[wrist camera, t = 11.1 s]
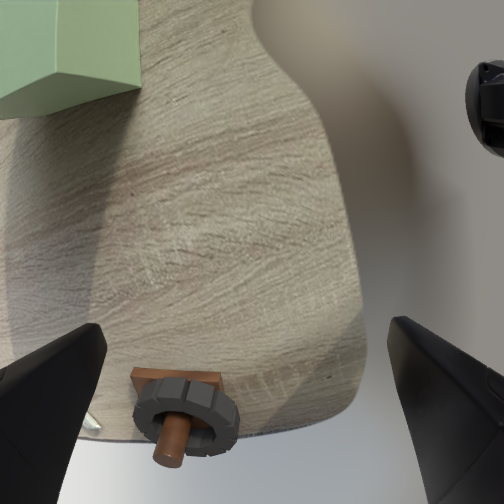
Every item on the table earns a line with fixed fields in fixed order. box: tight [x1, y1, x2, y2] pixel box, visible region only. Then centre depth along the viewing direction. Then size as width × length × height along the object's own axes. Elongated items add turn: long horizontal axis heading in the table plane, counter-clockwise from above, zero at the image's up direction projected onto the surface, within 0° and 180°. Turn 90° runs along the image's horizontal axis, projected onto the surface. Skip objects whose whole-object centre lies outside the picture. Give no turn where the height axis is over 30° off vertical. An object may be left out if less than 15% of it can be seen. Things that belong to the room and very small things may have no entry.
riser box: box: [0, 0, 142, 120], centre depth 12 cm, size 8×7×9 cm
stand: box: [130, 367, 225, 468], centre depth 24 cm, size 8×8×7 cm
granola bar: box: [83, 412, 102, 430], centre depth 29 cm, size 7×2×1 cm, turn 23°
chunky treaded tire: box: [132, 377, 240, 457], centre depth 25 cm, size 9×9×2 cm
